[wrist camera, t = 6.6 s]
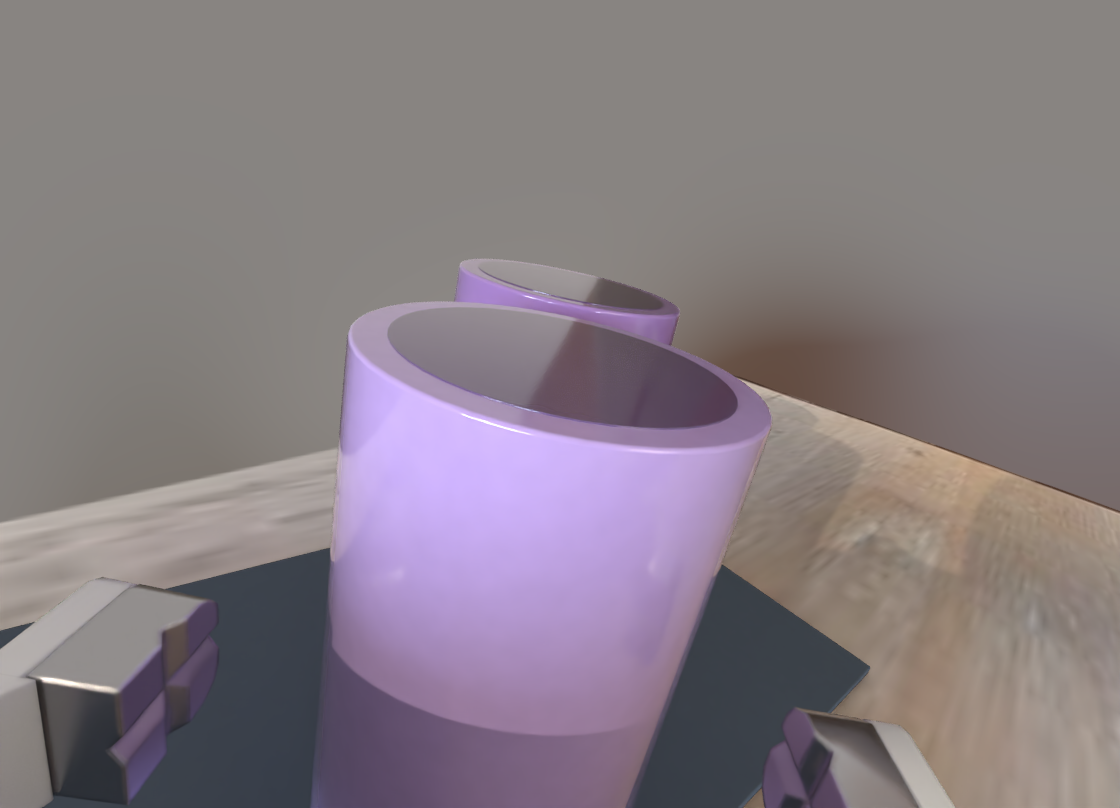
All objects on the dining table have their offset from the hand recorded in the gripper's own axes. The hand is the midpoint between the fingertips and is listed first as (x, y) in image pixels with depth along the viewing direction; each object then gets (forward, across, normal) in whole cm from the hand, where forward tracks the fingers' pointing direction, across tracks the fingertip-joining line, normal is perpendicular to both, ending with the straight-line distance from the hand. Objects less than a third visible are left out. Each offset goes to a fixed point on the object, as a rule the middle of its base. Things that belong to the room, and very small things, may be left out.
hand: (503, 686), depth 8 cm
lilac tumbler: (+2, 0, +6) cm, 6 cm away
